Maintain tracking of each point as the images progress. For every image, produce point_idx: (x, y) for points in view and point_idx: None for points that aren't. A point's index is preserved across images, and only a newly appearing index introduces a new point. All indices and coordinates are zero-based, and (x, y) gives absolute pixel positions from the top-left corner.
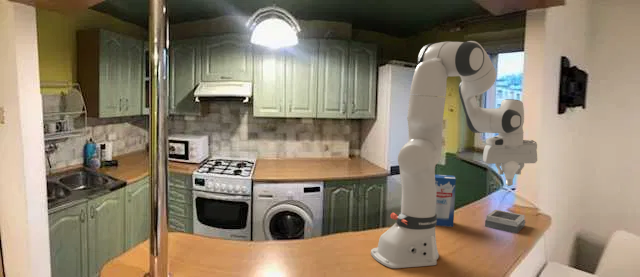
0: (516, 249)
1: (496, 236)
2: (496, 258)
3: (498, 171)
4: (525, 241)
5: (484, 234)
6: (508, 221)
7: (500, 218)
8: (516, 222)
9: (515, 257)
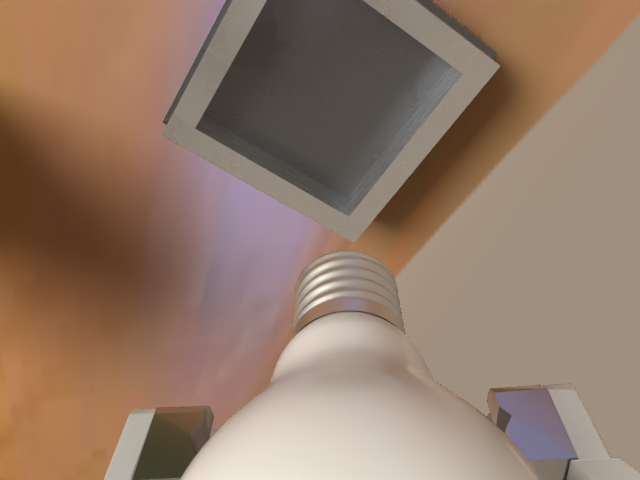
0: None
1: (214, 266)
2: None
3: (123, 463)
4: None
5: (150, 249)
6: (306, 211)
7: (257, 188)
8: (350, 238)
9: None
